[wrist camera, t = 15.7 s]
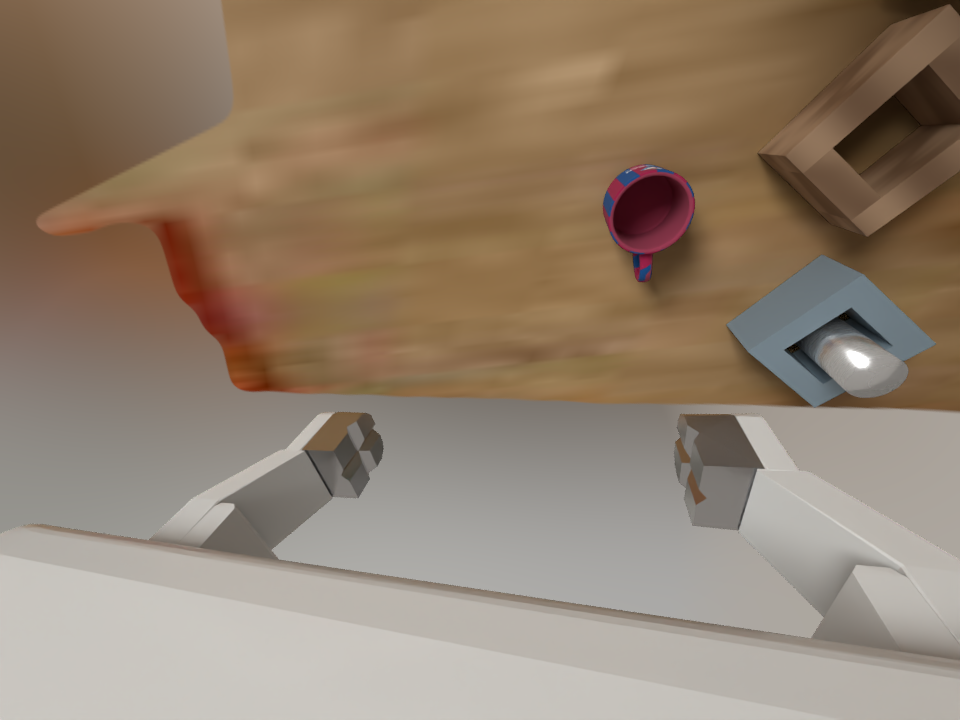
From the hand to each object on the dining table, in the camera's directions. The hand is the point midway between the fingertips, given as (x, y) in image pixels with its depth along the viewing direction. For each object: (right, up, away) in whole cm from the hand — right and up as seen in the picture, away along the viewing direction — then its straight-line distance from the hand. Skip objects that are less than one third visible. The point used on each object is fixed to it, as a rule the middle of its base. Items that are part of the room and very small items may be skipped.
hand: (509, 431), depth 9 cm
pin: (+34, +6, +28) cm, 45 cm away
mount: (+31, +21, +20) cm, 42 cm away
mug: (+15, +16, +27) cm, 35 cm away
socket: (+34, +6, +28) cm, 45 cm away
